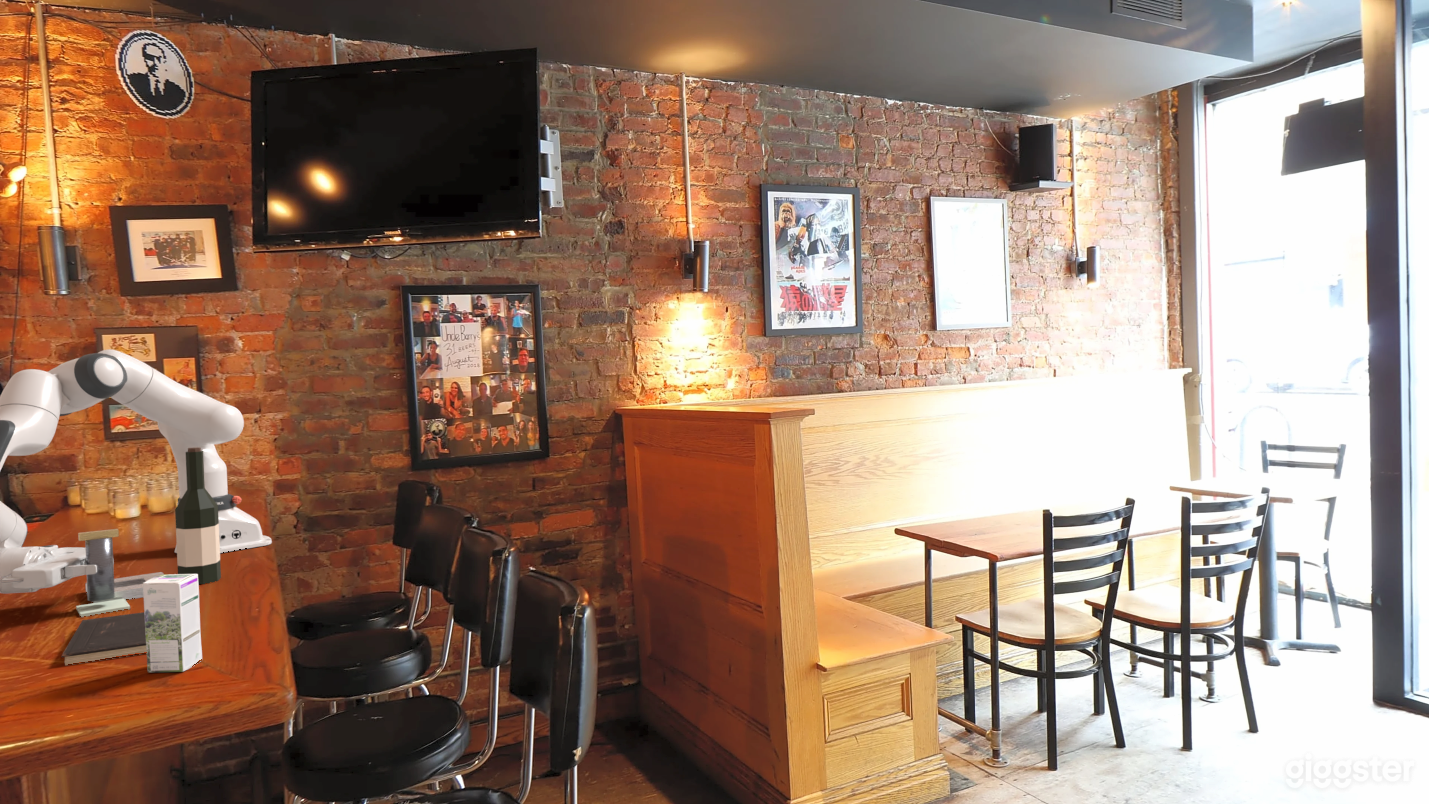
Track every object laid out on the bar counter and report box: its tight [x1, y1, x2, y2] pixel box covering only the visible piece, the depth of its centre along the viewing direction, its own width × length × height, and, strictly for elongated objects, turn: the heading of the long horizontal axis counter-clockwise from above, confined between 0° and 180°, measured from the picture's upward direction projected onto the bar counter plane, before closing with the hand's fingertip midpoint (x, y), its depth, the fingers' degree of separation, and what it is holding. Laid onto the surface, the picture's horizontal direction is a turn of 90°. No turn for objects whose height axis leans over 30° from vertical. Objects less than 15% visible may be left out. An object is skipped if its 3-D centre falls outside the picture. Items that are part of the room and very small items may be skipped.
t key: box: [77, 528, 120, 602], centre depth 173 cm, size 6×4×13 cm
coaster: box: [75, 598, 131, 618], centre depth 174 cm, size 8×8×1 cm
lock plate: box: [85, 571, 166, 603], centre depth 186 cm, size 14×14×2 cm
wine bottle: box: [174, 447, 222, 585], centre depth 195 cm, size 8×8×30 cm
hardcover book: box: [60, 612, 147, 666], centre depth 154 cm, size 16×23×2 cm
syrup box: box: [143, 573, 203, 673], centre depth 138 cm, size 6×6×14 cm
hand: (105, 565), depth 173 cm, fingers closed on t key, 4 cm apart
